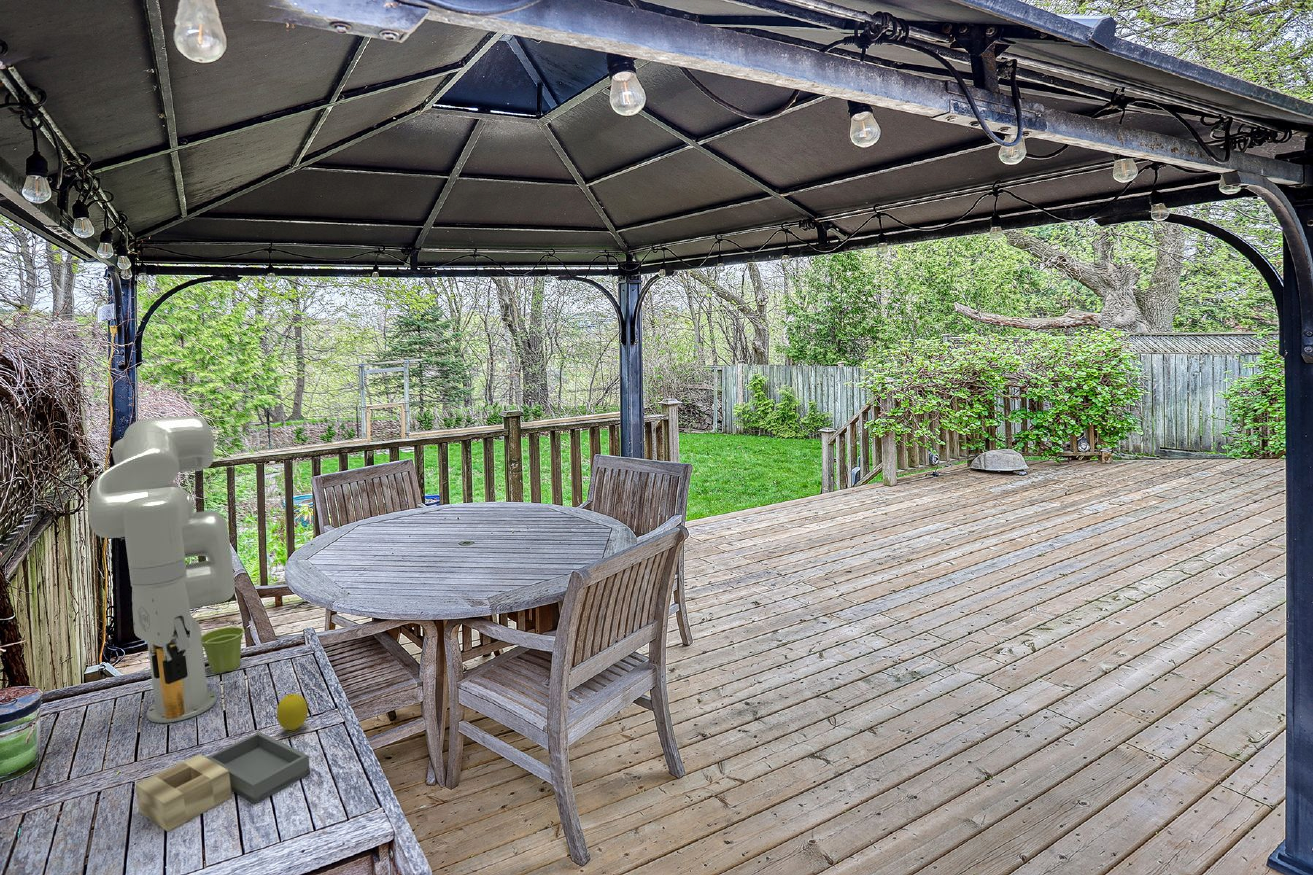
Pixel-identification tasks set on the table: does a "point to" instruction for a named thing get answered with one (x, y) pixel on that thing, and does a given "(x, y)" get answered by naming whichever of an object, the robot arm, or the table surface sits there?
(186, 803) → the pin block
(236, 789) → the tray
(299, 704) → the lemon
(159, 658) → the pin
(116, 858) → the table surface
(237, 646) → the plant pot
